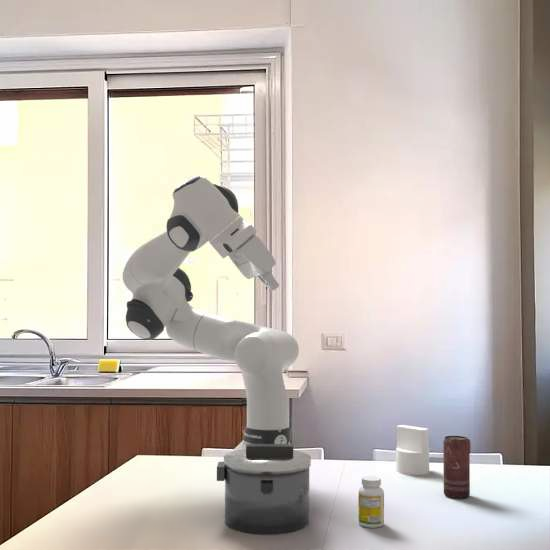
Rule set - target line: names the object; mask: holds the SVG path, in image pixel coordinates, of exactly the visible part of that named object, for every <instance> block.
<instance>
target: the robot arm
mask: <svg viewBox="0 0 550 550" xmlns="http://www.w3.org/2000/svg"><path fill="white" fill-rule="evenodd" d="M172 198H173V209H172V212H171V214H170V216H169V218H168V219H167V221H166V231H164V232H162V233H161V234H158V235H157V236H155V237H152V239H150V240H148V241H146V242H144V244H141V245H140V246H139V247H138V248H137V249H136V250H135V251H134V252H133V253H132V254H131V255H130V257H129V258H128V259H127V262H126V263H125V265H124V268H123V272H122V281H123V283H124V285H125V287H126V288H127V290H128V291H130V292H131V293H132V299H130V300H129V301H127V302H126V308H127V310H126V314H125V323H126V326H127V328H128V329H129V331H130V332H131V333H133V334H134V335H135V336H137V337H138V338H140V339H143V340H155V338H157V337H159V336H160V335H161V334H162V333H163V332H164V330H165V329H166V334H167V336H168V337H169V339H171V340H172V341H173V342H175V343H177V344H180V345H181V346H184V347H185V348H187V349H189V350H192V351H195V352H197V353H198V352H199V353H201V354H204V355H207V356H211V357H213V358H216V359H220V360H222V361H228V362H234V363H236V365H237V367H238V368H239V369H240V371H241V375H242V379H243V384H244V389H245V396H246V426H245V427H244V426H243V427H241V429H243V430H242V431H241V432H242V433H243V436H242V441H241V442H240V443H239V444H238V445H237V446H236V447H235V448H233V450H232V451H230V452H233V451H237V450H243V449H246V445H247V444H291V443H290V442H291V440H292V427H291V426H290V396H289V393H288V392H287V389H286V386H285V381H284V375H283V371H285V370H287V369H289V368H290V367H291V366H292V365H293V364H294V363H295V361H297V358H298V356H299V353H300V348H299V343H298V341H297V339H296V338H295V337H294V336H293V335H292V334H290V333H289V332H286V331H283V330H280V329H276V328H271V327H268V326H264V325H258V324H254V323H250V322H245V321H240V320H235V319H233V318H230V317H225V316H222V315H219V314H215V313H213V312H210V311H209V312H208V311H205V310H201V309H197V308H195V307H193V306H192V305H190V303H189V302H191V301H193V297H194V294H193V292H192V284H191V281H190V278H189V275H188V274H187V273H186V271H184V270H183V269H182V268H180V266H181V265H182V264H183V263H184V261H185V260H186V258H187V257H188V256H189V254H190V253H191V252H195V251H196V250H199V249H200V248H202V247H203V246H205V244H207V243H208V242H209V244H210V245H211V246H212V247H213V249H214V250H215V251H216V252H217V254H218V255H219V256H220V257H221V258H222V259H225V258H226V257H228V258H229V259H230V260H231V262H232V263H233V264H234V265H235V267H236V268H237V269H238V271H239V272H240V273H241V275H242V276H243V277H245V278H246V279H247V280H249V279H252V278H257V279H258V280H259V281H260V282H261V283H262V284H264V285H265V287H267V289H269V291H276V290H277V289H278V288H279V287H280V283H279V282H278V281H277V280H276V278H275V277H274V275H273V273H272V272H271V269H273V267H275V266H276V264H277V263H276V260H275V258H274V256H273V254H272V253H271V251H270V250H269V248H267V246H266V245H265V244H264V242H263V241H262V239H261V238H260V237H259V236H258V235H257V229H256V228H255V227H254V226H253V225H252V224H250V223H248V222H247V221H246V220H245V219H244V218H243V216H242V215H241V214H240V213H239V202H238V199H237V197H236V194H234V192H233V191H232V190H231V189H230V188H228V187H226V186H224V185H222V184H218V183H217V184H215V183H212V182H211V181H210V179H208V178H206V177H205V176H203V175H201V174H196V175H193V176H191V177H190V178H188V179H187V180H186V181H184V182H182V183H181V184H179V185H178V186H177V187H176V188H175V189H174V190H173V191H172Z"/></svg>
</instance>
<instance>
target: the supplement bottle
mask: <svg viewBox="0 0 550 550" xmlns="http://www.w3.org/2000/svg"><path fill="white" fill-rule="evenodd" d="M361 485H362V486H361V487H359V489H358V498H357V499H358V501H357V502H358V511H357V512H358V524H359V525H360V526H361V527H363V528H368V529H376V528H381V527H383V526H384V523H385V491H384V490H383V489H384V488H382V487H381V486H382V478H381V477H379V476H376V475H375V476H373V475H366V476H362V477H361Z"/></svg>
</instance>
